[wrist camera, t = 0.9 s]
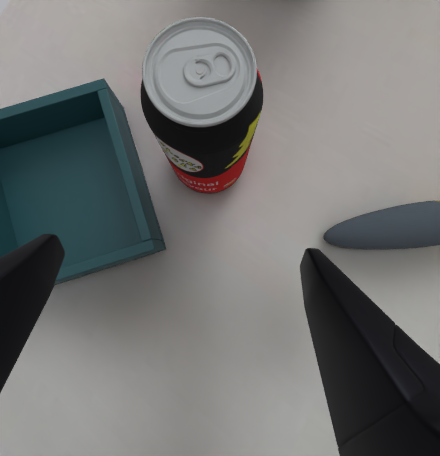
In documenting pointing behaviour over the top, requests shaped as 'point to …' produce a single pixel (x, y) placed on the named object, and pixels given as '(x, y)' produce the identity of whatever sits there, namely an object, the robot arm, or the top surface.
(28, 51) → the top surface
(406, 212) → the paintbrush
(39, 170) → the tote
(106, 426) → the top surface
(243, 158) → the beverage can
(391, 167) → the top surface
